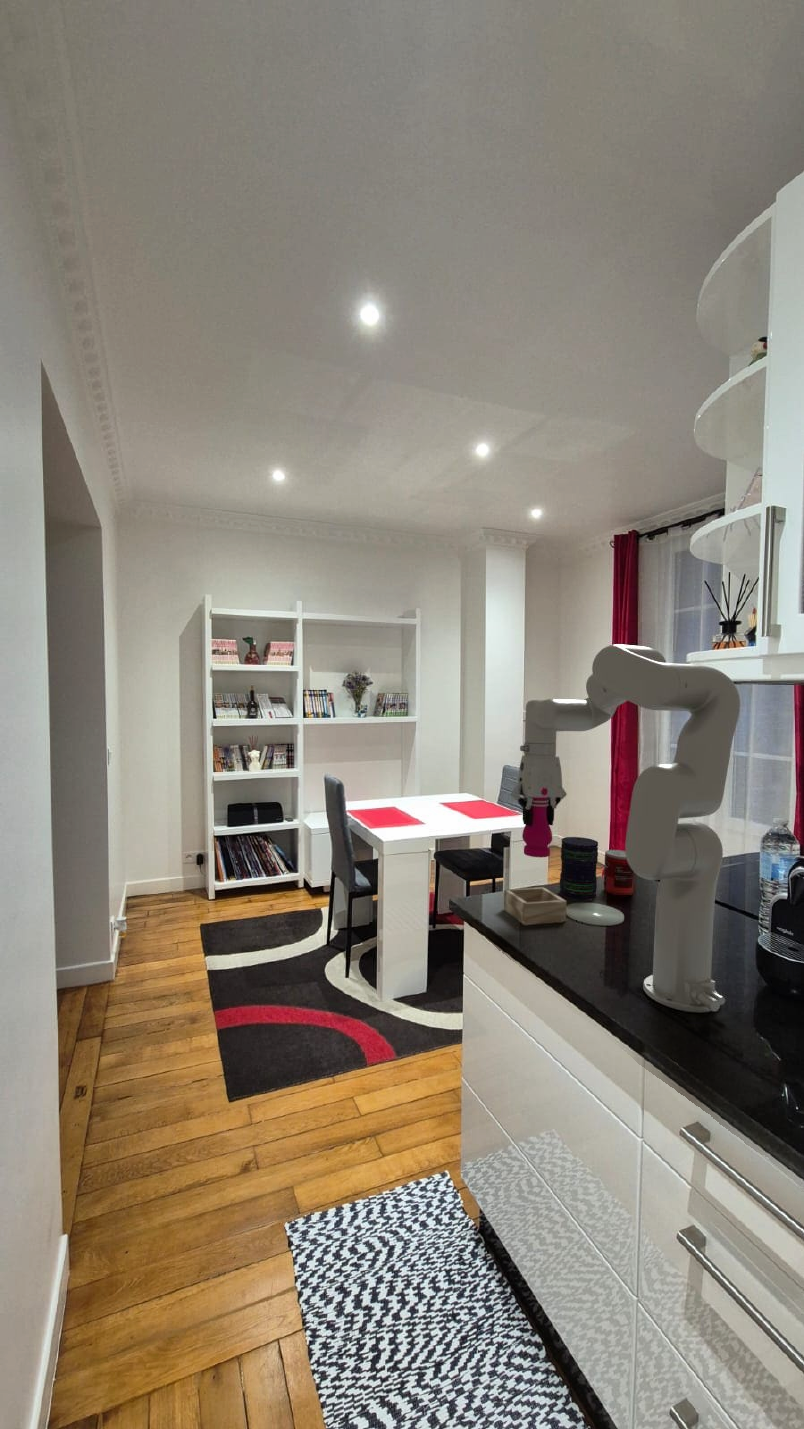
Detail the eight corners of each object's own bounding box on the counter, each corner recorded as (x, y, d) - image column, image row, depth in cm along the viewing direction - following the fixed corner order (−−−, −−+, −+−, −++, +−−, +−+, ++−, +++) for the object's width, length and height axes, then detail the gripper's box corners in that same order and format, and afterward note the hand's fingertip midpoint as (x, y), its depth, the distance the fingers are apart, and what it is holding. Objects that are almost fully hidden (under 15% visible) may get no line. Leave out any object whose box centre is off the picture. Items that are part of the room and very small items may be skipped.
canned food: (612, 886, 176) (614, 848, 175) (638, 893, 169) (640, 854, 169) (597, 890, 171) (599, 852, 170) (623, 898, 165) (625, 858, 164)
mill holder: (565, 921, 145) (566, 901, 145) (524, 925, 142) (525, 904, 142) (542, 906, 156) (543, 887, 156) (503, 909, 153) (504, 889, 153)
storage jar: (599, 902, 161) (601, 846, 160) (561, 899, 162) (563, 843, 162) (593, 890, 171) (595, 838, 170) (557, 888, 172) (559, 835, 172)
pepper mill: (552, 859, 144) (554, 775, 144) (521, 856, 146) (523, 773, 145) (551, 852, 151) (553, 772, 151) (521, 850, 153) (523, 770, 152)
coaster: (636, 923, 146) (636, 919, 146) (585, 927, 142) (585, 924, 142) (601, 903, 159) (601, 900, 159) (554, 907, 155) (554, 904, 155)
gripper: (515, 751, 142) (513, 828, 142) (579, 751, 147) (577, 826, 147) (501, 749, 149) (499, 822, 150) (562, 749, 154) (560, 820, 154)
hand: (538, 823), depth 148 cm, fingers closed on pepper mill, 5 cm apart
